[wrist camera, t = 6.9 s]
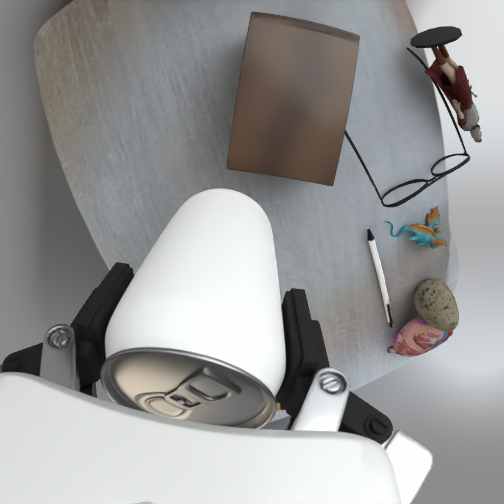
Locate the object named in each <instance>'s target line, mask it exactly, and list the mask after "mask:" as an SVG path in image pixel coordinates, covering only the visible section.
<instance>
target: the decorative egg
mask: <svg viewBox="0 0 504 504" xmlns="http://www.w3.org/2000/svg"><path fill="white" fill-rule="evenodd" d="M414 303H415V307H416V309H417V311H418V313H419V314H420V316H421V317H422V318H423V319H424V320H425V321H426V322H427V323H428V324H430V325H431V326H433V327H434V328H436V329H438V330H440V331H444V332H450V331H452V330H454V329H455V328H456V326H457V324H458V320H459V313H458V308H457V304H456V301H455V298H454V296H453V294H452V292H451V291H450V289H449V288H448V286H447V285H446V284H445V283H443V282H442V281H440V280H438V279H426V280H424V281H422V282H421V283H420V284H419V285H418V287H417V288H416V291H415V295H414Z"/></svg>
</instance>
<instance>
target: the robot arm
mask: <svg viewBox="0 0 504 504" xmlns="http://www.w3.org/2000/svg"><path fill="white" fill-rule="evenodd" d="M133 278H134V274H133V269H132V268H130V266H129V264H125V263H119V262H116V263H115V265H114V266H113V267H112V269H111V270H110V271H109V273H108V274H107V275H106V277H105V278H104V280H103V281H102V282H101V284H100V285H99V287H98V288H95V290H94V291H93V292H92V294H91V295H90V296H89V298H88V299H87V301H86V302H85V304H84V305H83V307H82V308H81V310H80V311H79V313H78V314H77V316H76V317H75V319H74V320H73V322H72V323H71V325H70V326H68V325H66V324H58V325H55V326H53V327H51V328H50V329H49V330H48V331H47V332H46V333H45V336H44V342H43V343H40V344H37V345H34V346H32V347H29V348H26V349H23V350H20V351H17V352H14V353H12V354H10V355H8V356H7V357H6V358H5V360H4V361H3V364H2V365H0V504H411V502H412V501H413V499H414V497H415V496H416V494H417V492H418V491H419V489H420V487H421V485H422V484H423V482H424V480H425V478H426V476H427V475H428V473H429V471H430V469H431V467H432V463H433V457H432V454H431V453H430V452H429V451H428V450H427V449H426V448H424V447H423V446H421V445H420V444H418V443H417V442H415V441H414V440H412V439H411V438H410V437H408V436H407V435H405V434H404V433H402V432H401V431H399V430H397V431H395V430H393V426H392V423H391V421H390V420H389V418H388V417H387V416H386V415H384V414H383V413H381V412H380V411H378V410H377V409H375V408H374V407H372V406H371V405H369V404H368V403H366V402H365V401H364V400H362V399H361V398H359V397H358V396H356V395H355V394H353V393H352V392H351V391H350V381H349V378H348V377H347V375H346V374H344V373H343V372H342V371H340V370H338V369H336V368H332V367H331V368H330V366H329V361H328V357H327V353H326V348H325V344H324V340H323V336H322V332H321V328H320V324H319V322H318V321H316V320H311V316H310V311H309V307H308V302H307V298H306V294H305V290H302V289H294V288H292V289H291V290H290V291H286V293H285V296H284V300H283V303H282V306H281V307H282V317H283V327H284V337H285V350H286V372H285V376H284V379H283V382H282V384H281V387H280V389H279V390H278V392H277V394H276V396H275V398H276V403H280V410H286V413H287V414H289V415H290V416H291V417H290V419H289V421H288V423H287V425H286V427H285V429H284V430H267V429H251V428H239V427H228V426H220V425H212V424H205V423H198V422H192V421H186V420H180V419H175V418H170V417H165V416H160V415H156V414H152V413H147V412H143V411H139V410H135V409H132V408H128V407H124V406H121V405H117V404H114V403H110V402H107V401H104V400H101V399H98V398H97V394H96V384H95V382H97V381H98V380H99V379H100V369H101V366H102V364H103V362H104V361H105V360H106V353H105V335H106V330H107V327H108V324H109V321H110V319H111V317H112V315H113V313H114V311H115V309H116V307H117V305H118V304H119V302H120V300H121V298H122V296H123V295H124V293H125V291H126V289H127V288H128V286H129V284H130V283H131V281H132V279H133Z"/></svg>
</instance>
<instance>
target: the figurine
mask: <svg viewBox="0 0 504 504" xmlns="http://www.w3.org/2000/svg"><path fill="white" fill-rule="evenodd" d="M460 36H462V33H461V30H460V29H459V28H456V27H452V26H448V27H437V28H433V29H428V30H426V31H424V32H421V33H419V34H417V35H416V36H414V37H413V38H412V39H411V42H410V44H411V45H412V46H414V47H416V48H432V50H433V53H434V55H435V57H436V59H435V61H434V62H433V64H432V65H431V67H430V68H428V69H427V70H426V71H425V73H427V74H428V75H429V76H430V77H432V78H433V79H434V80H435V81H436V83H437V84H438V85H439V87H440V88H441V89H442V91H443V92H444V94H445V95H446V97H447V98H448V100H449V102H450V103H451V105H452V107H453V108H454V110H455V111H456V113H457V120H458V124H459V126H460V127H461V128H462V129H463V130H464V131H470V133H471V136H472V137H473V138H474V140H475V141H476V142H481V141H482V140H481V131H480V126H479V125H478V124H477V123H478V121H479V116H478V111H477V109H476V107H475V105H474V103H473V101H472V95H471V94H473V95H474V96H475V97H477V95H475V94H474V93H473V92H472V91H471V88H472V85H471V87H470V86H469V80H467V77H466V74H465V71H464V68H463V66H457V65H456V63H455V62H454V61H453V60H452V59H451V58H450V57H449V54H448V52H447V50H446V48H445V46H444V45H445V44H448V43H450V42H453V41H456V40H457V39H458V38H459V37H460ZM437 46H438V48H439V49H438V48H437Z"/></svg>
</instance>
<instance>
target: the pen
mask: <svg viewBox="0 0 504 504" xmlns="http://www.w3.org/2000/svg"><path fill="white" fill-rule="evenodd" d="M367 233H368V242H369V245H370V249H371V253H372V256H373V260H374V264H375V267H376V271H377V275H378V279H379V284H380V288H381V292H382V296H383V301H384V306H385V310H386V315H387V320H388V323H389V324H390V327H392V323H393V319H392V313H391V308H390V303H389V298H388V293H387V288H386V283H385V279H384V275H383V270H382V266H381V262H380V258H379V254H378V250H377V246H376V243H375V239H374V237H373V235H372V233H371V231H370V229H369V228H368V227H367Z"/></svg>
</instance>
